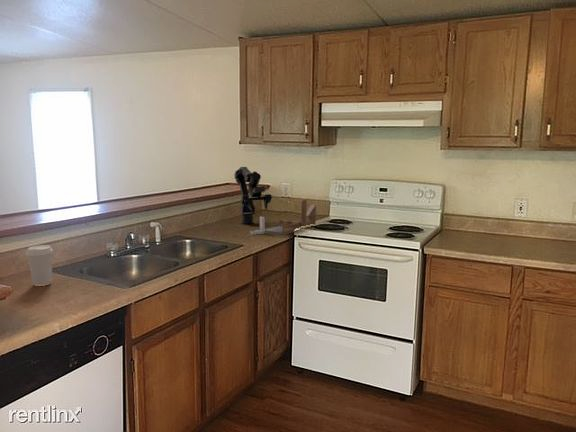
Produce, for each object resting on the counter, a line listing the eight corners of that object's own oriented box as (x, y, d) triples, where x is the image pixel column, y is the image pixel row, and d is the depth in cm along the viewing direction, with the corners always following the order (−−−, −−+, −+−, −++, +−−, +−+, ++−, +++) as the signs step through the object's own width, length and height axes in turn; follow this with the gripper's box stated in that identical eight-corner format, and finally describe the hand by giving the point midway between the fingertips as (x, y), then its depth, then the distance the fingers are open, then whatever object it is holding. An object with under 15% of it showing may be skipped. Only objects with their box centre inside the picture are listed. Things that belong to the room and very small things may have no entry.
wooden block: (315, 226, 311) (315, 199, 308) (303, 228, 304) (303, 200, 301) (311, 225, 314) (311, 198, 311) (299, 227, 307) (299, 199, 304)
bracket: (250, 233, 289) (250, 217, 287) (262, 232, 292) (262, 216, 290) (252, 234, 285) (251, 218, 284) (264, 233, 288) (264, 217, 286)
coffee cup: (23, 286, 188) (19, 249, 186) (43, 279, 197) (40, 244, 194) (41, 289, 185) (38, 251, 182) (61, 282, 193) (58, 245, 191)
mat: (263, 231, 295) (263, 230, 295) (280, 226, 310) (280, 225, 310) (284, 234, 286) (284, 233, 286) (301, 229, 301) (301, 228, 301)
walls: (263, 230, 295) (263, 223, 295) (280, 225, 310) (280, 219, 309) (284, 233, 286) (284, 226, 286) (301, 228, 301) (301, 222, 300)
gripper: (242, 182, 292) (247, 203, 285) (271, 181, 299) (277, 201, 291) (238, 193, 301) (243, 213, 293) (266, 192, 308) (272, 212, 300)
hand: (259, 210), depth 294 cm, fingers open, 9 cm apart
